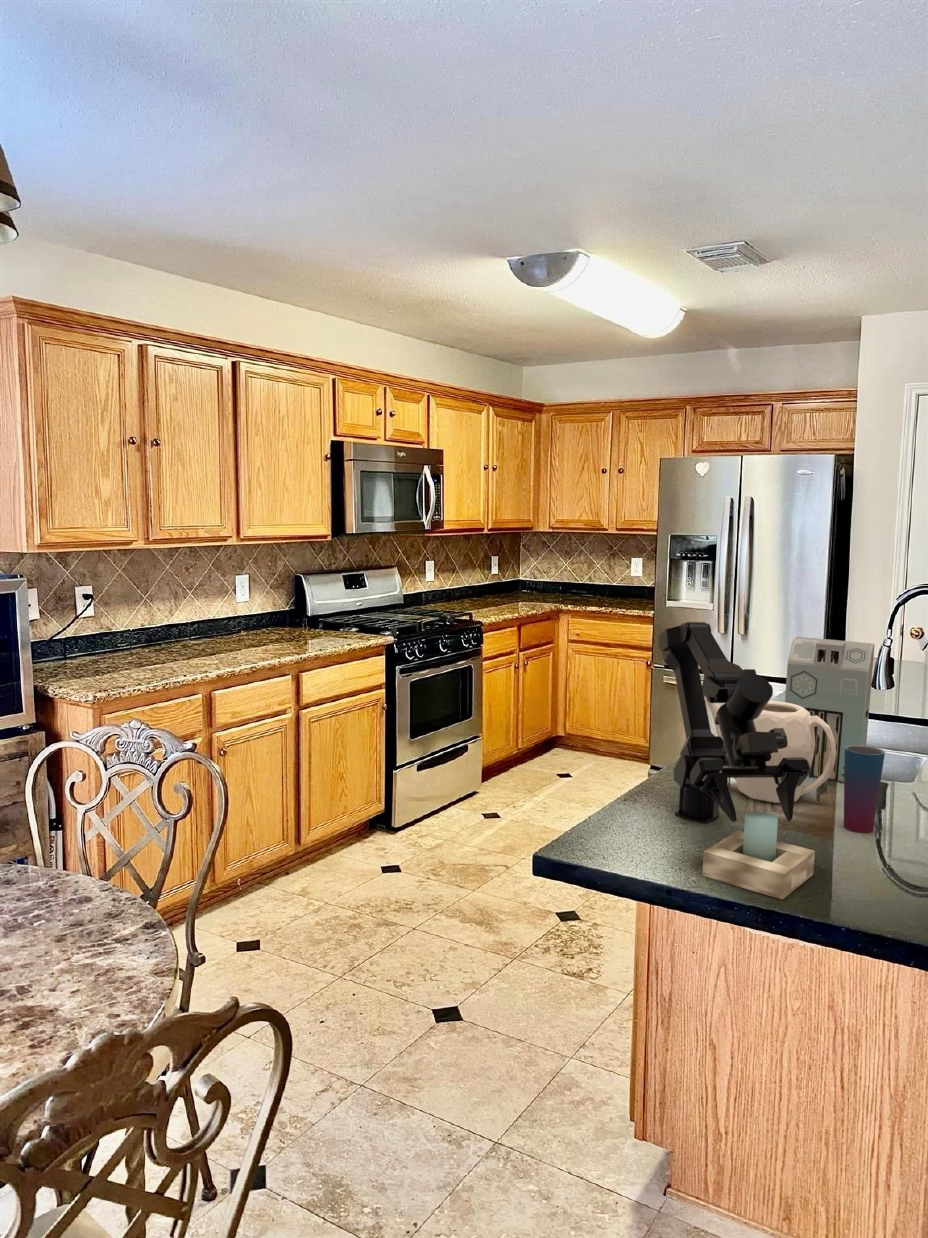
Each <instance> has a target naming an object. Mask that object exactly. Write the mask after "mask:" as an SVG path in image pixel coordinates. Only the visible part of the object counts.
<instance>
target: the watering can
mask: <svg viewBox="0 0 928 1238" xmlns="http://www.w3.org/2000/svg"><path fill="white" fill-rule="evenodd" d="M704 698H705V703H706V704H707V705H708V707H709V709H710V711H711V716H712V719H713V722H714V726H715V731H716V736H720V737H721V738H722V735H721V731H720V727H719V725H716V724H715V718H716V716H717V715H716V713H717V711H718V709H719V708H720V707H721V705H719V703H710V702H709V701H708V700H707V698H706V697H704ZM754 724H755V728H756V731H760V732H769V731H770V730H771V729H773V728H784V731H785V733H786V736H787V742H788V744H787V747H785V748H783V749H778V752H777V753H775V752H774V753H771V757H772V758H771V759H770V761H766V762H765V763H766V766H778V764H779V763H780V762H781V760H782V759H783V758H784V757H803V758H805V759H806V760H807V761H808V762H809V764H810V767H811V764H812V760H813V756H814V750H815V733H814V727H816V726H820V727H822V728H823V730H824V731H825V733H826V735H827V737H828V739H829V748H830V750H829V758H828V762H827V764H826V766H825V769H824V771H823V773H822V775H821V776H820V777H818V778H815V780H814V781H813V782H812V783H810V784H808V785H806V784H807V782H808V779H809V778H810V777H809V775H808V776H807V778H806V779H805V780H804V781H803V783H802V784H801V785H800V786H797V787H796V790H795V795H794V802H797V801H798V800H799V798H800V797H801V796H802V795H806V794H809V793H811V792H814V791H816V789H818V788H819V787H820V786H822V785H823V784H824V783H825V782H826V781H828V780H827V779H828V777H829V775H830V773H831V771H832V769H833V767H834V765H835V758H836V747H835V740H834V737H833V734H832V731H831V728H830V726H829V725H828V724H826V723H825V722H824V721H823V720H822V719H821V718H819V717H818V716H811V715H810V712H808V711H807V710H806V709H805V708H803V707H801V706H799V705H795V704H792V703H786V702H785V701H776V700H769V702H768V703H767V705H766V706H765V708H764V709H763V711H762V712H761V714H760V715H759V717H757V718H756V719H754ZM722 740H723V738H722ZM723 743H724V742H723ZM726 755H727V754H726ZM733 779H734V780H736V784H737V787H738V791H739V792H740V793H742V794H744V795H745V796H747V797H749V798H750V799H752V800H756V799H757V800H756V801H764V802H768V803H769V802H770V803H772V802H773V804H781V803H780V800H779V798H778V795H777V792H776V788H777V787H778V786H779V785H777V784H776V783H775V780H774V778H733Z"/></svg>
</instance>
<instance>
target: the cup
mask: <svg viewBox="0 0 928 1238" xmlns="http://www.w3.org/2000/svg"><path fill="white" fill-rule="evenodd" d="M885 755H886V751H885V750H884V749H882V748H879V747H875V746H871V745H867V744H866V745H848V746H845V764H844V783H843V828H845V829H846V830H848V831H851V832H854V833H855V832H856V833H859V834H861V833H862V834H863V833H864V834H869V833H873V831H874V825H875V819H876V812H877V806H878V801H879V793H880V787H881V782H882V774H883V770H884V769H883V768H884V761H885Z"/></svg>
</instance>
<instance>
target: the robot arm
mask: <svg viewBox="0 0 928 1238" xmlns="http://www.w3.org/2000/svg"><path fill="white" fill-rule="evenodd" d="M658 648H659V650H660V652H661V654H662V658H663V661H664V663H665V664H666V665H667V666H668V668H670V670H672V671H673V673H674V676H675V682H676V688H677V693H678V699H679V705H680V711H681V717H682V722H683V728H684V732H685V741H684V743H683V746H682V747H681V750H680V754H679V755H680V757H679V759H678V761H677V763H676V764H675V766H674V767H673V781H674V782H675V783H676V785H678V786H679V797H678V798H679V799H678V801H679V804H678V810H676V811H675V812H674V816H676V817H680V818H685V819H688V820H691V821H692V820H693V821H697V822H700V823H704V824H707V823H708V822H710V821H711V820H714V819H715V818H717V817H719V816H721V814H720V811H719V810H720V808H721V810H722V811H723V813H725V815H726V816H727V817H728V819H729V820H730V821H731V822H733V823H735V822H737V819H738V818H737V811H736V809H735V805H734V802H733V798H732V796H731V795H732V794H731V792H730V788H729V783H728V782H729V780H728V779H734V778H774V780H775V783H776V784H777V785H779V786H778V787H777V788H776V792H777V795H778V798H779V800H780V803H779V804H780V806H781V809H782V811H783V814H784V817H785V818H786V820H787V822H791V821H792V820H793V817H794V816H793V815H794V795H795V790H796V787H797V786H800V785H801V784H802V783H803V781H804V780H805V779H806V778H807V776H808V775H809V774H810V773H811V772H812V770H811V767H810V764H809V762H808V761H807V760H806V759H805V758H803V757H784V758H783V759H782V760H781V762H780V763H779V764H778V766H766V763H765V762H766V761H770V759H771V758H772V757H771V753H774V752H775V753H777V752H778V749H783V748H785V747H787V744H788V742H787V736H786V733H785V731H784V728H773V729H771V730H770V731H769V732H760V731H756V728H755V724H754V719H756V718H757V717H759V715H760V714H761V712H762V711H763V709H764V708H765V706H766V705H767V703H768V702H769V701H771V698H772V697H773V695H774V690H773V689H774V688H773V685H771V684H770V681H768V680H767V679H766V678H764V677H763V676H761V675H758V674H757V671H756V669H753V668H751V669H750V668H748V669H747V668H745V669H743V668H742V667H741V666H740V665H738V664H736V663H734V662H732V661H729V660H728V658H727V657H726V655H725V653H724V651H723V650H722V649H721V647H720V645H719V643H718V641H717V639H716V638H715V636H714V635H713V633H712V628H711V624H710V623H707V622H706V621H705V622H704V621H685V622H684V623H683V622H682V623H681V624H680V625H677V626H674V627H673V626H672V627H667V628H665V629H664V631H662V632H661V633H660V635H659V637H658ZM700 670H701V672H702V674H703V680H702V679H701V674H700ZM705 698H707V700H708V701H709V702H710V703H717V704H721V705H720V708H719V709H718V711H717V713H716V715H717V716H716V718H715V723H714V725H715V724H716V725H719V727H720V731H721V735H722V738H723V740H722V738H721V737H720V736H717V735H716V736H715V734H714V733H713V732H712V730H711V726H710V719H709V714H708V709H707V705H706V704H707V702H706V701H705ZM723 742H724V743H723ZM726 754H727V755H726Z"/></svg>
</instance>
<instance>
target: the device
mask: <svg viewBox="0 0 928 1238" xmlns="http://www.w3.org/2000/svg"><path fill="white" fill-rule="evenodd" d="M874 654H875V643H871V642H870V643H869V642H859V641H852V640H851V641H850V640H849V641H848V640H838V639H829V638H828V639H827V638H815V637H807V636H806V637H805V636H795V637H793V639H792V642H791V645H790V651H789V653H788V658H787V659H788V660H787V666H786V679H785V680H786V681H785V694H784V695H785V696H784V702H786V703H792V704H795V705H799V706H801V707H803V708H805V709H806V710H807V711H808V712H810V715H811V716H818V717H819V718H821V719H822V720H823V721H824V722H825V723H826V724H828V725H829V726H830V728H831V731H832V734H833V737H834V740H835V747H836V758H835V765H834V767H833V769H832V771H831V773H830V775H829V777H828V779H827V780H826V781H831V782H832V781H833V782H836V783H837V782H838V783H843V784H844V764H845V746H848V745H866V746H867V739H868V728H869V727H868V726H869V716H870V715H869V714H870V706H871V705H870V704H871V694H872V693H871V692H872V679H873V667H874V658H875V657H874V656H875V655H874ZM814 733H815V750H814V756H813V760H812V764H811V770H812V772H811V773H810V774H809V777H808V778H814V779H817V778H818V777H820V776H821V775H822V773H823V771H824V769H825V766H826V764H827V762H828V758H829V750H830V748H829V739H828V737H827V735H826V733H825V731H824V730H823V728H822V727H820V726H816V727H814Z"/></svg>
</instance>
